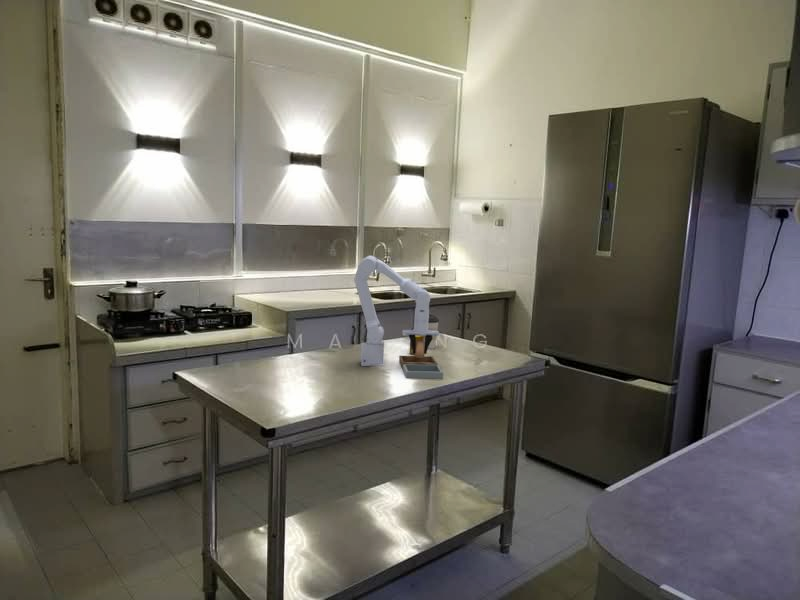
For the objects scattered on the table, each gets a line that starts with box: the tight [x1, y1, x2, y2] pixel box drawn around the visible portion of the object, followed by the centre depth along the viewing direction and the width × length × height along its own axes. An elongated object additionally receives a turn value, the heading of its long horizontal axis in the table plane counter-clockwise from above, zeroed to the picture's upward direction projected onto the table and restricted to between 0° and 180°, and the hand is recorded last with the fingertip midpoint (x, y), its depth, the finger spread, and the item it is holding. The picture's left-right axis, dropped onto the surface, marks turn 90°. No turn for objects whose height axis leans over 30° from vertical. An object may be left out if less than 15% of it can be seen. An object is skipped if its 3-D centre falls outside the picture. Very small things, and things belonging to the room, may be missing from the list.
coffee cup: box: [424, 314, 440, 350], centre depth 269 cm, size 9×9×15 cm
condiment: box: [409, 327, 428, 356], centre depth 254 cm, size 7×8×12 cm
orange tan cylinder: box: [413, 341, 425, 358], centre depth 234 cm, size 4×4×6 cm
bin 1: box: [398, 355, 439, 370], centre depth 235 cm, size 14×12×3 cm
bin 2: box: [402, 364, 444, 380], centre depth 222 cm, size 14×11×3 cm
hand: (419, 353), depth 234 cm, fingers closed on orange tan cylinder, 4 cm apart
